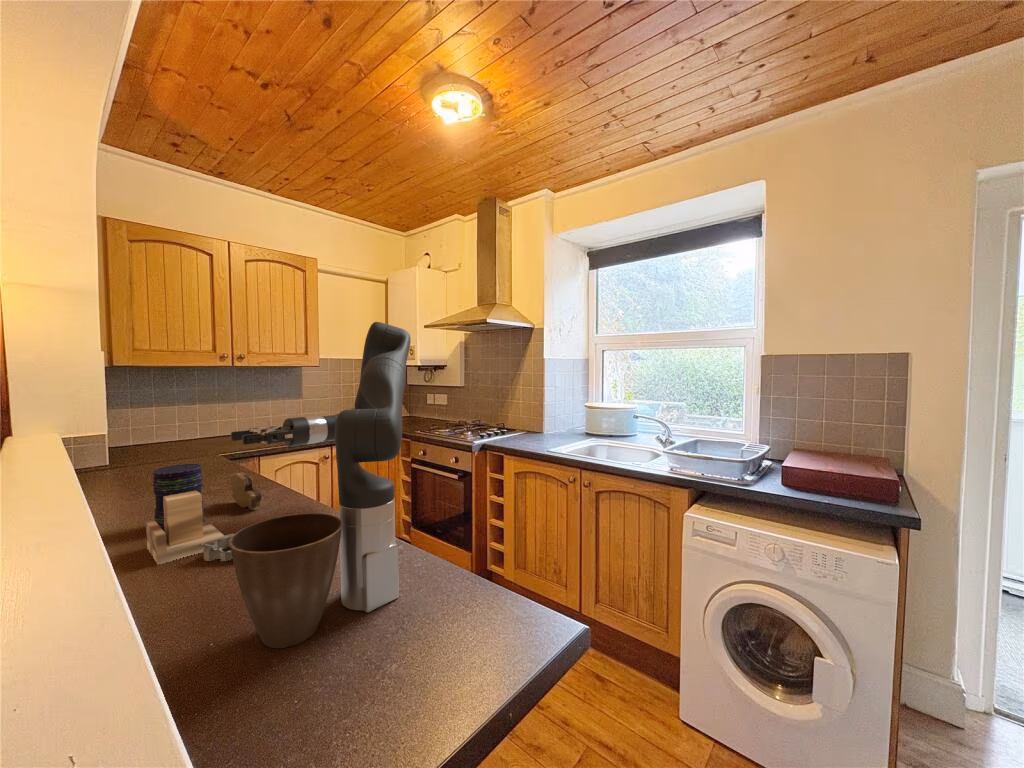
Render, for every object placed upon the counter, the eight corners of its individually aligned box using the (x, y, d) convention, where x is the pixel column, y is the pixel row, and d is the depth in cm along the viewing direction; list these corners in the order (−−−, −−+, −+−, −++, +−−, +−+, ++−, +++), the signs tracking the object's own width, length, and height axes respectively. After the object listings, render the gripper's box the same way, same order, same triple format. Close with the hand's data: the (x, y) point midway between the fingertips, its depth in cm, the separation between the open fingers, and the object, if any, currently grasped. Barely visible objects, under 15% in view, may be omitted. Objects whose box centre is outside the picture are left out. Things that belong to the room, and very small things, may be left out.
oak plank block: (203, 537, 94) (201, 494, 94) (169, 546, 89) (167, 500, 89) (197, 532, 97) (196, 490, 97) (165, 540, 92) (163, 496, 92)
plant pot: (317, 594, 74) (315, 506, 73) (363, 627, 65) (360, 526, 64) (218, 637, 62) (214, 533, 62) (256, 685, 53) (252, 562, 52)
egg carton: (196, 563, 87) (195, 544, 86) (224, 547, 94) (223, 529, 94) (244, 564, 86) (244, 545, 86) (269, 548, 93) (268, 530, 93)
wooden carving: (269, 509, 119) (268, 474, 118) (252, 514, 115) (250, 478, 114) (240, 499, 127) (239, 467, 127) (223, 503, 124) (222, 470, 123)
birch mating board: (226, 545, 94) (225, 519, 94) (157, 565, 85) (156, 536, 85) (211, 532, 102) (210, 508, 102) (147, 548, 93) (145, 522, 93)
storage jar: (183, 533, 101) (180, 473, 101) (143, 533, 101) (141, 473, 101) (213, 518, 111) (211, 463, 111) (177, 518, 111) (175, 463, 111)
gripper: (294, 415, 117) (227, 420, 105) (317, 418, 108) (246, 425, 96) (294, 441, 118) (228, 450, 105) (317, 447, 108) (247, 457, 96)
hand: (236, 438), depth 101 cm, fingers open, 8 cm apart
